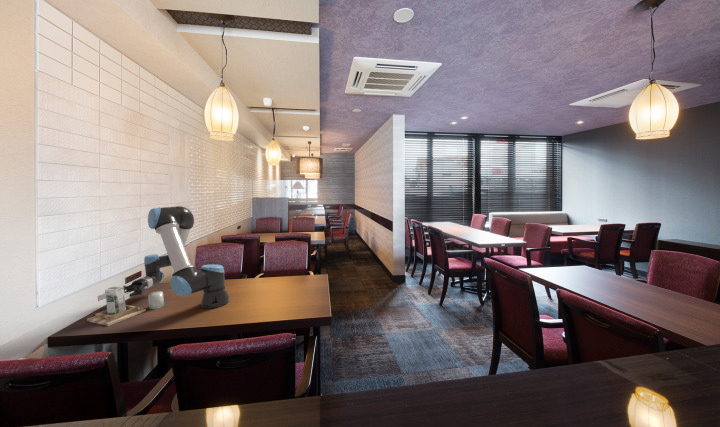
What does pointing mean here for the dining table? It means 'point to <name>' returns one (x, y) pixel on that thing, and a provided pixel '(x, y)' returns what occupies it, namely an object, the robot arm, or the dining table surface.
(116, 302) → the syrup box
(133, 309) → the wooden square frame
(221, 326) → the dining table surface
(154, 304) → the white rounded cylinder
